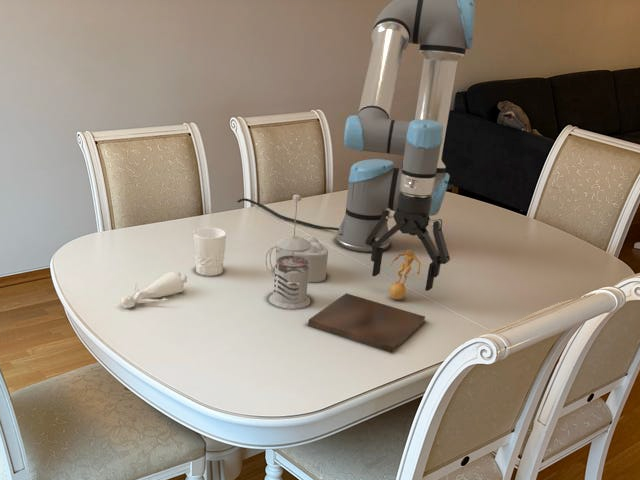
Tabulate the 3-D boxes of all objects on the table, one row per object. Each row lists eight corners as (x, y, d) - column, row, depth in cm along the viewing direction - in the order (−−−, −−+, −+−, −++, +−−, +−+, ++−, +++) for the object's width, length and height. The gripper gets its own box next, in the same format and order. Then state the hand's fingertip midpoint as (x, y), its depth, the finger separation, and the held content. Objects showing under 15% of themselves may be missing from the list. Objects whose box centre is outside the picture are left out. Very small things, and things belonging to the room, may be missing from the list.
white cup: (230, 269, 178) (231, 231, 173) (215, 279, 172) (215, 240, 167) (203, 262, 181) (203, 225, 176) (187, 272, 174) (187, 234, 169)
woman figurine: (199, 276, 161) (137, 303, 149) (200, 294, 163) (139, 322, 151) (166, 262, 167) (103, 286, 155) (167, 279, 169) (106, 304, 158)
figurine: (378, 294, 170) (384, 247, 164) (394, 289, 174) (401, 243, 168) (404, 306, 165) (412, 258, 159) (420, 300, 168) (428, 253, 163)
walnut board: (308, 325, 153) (308, 319, 152) (345, 298, 167) (346, 293, 166) (392, 352, 144) (393, 346, 144) (424, 322, 158) (425, 316, 157)
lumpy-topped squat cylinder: (294, 261, 186) (296, 229, 181) (334, 274, 179) (338, 242, 175) (269, 271, 178) (271, 239, 174) (311, 286, 172) (314, 253, 167)
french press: (296, 312, 158) (305, 204, 146) (254, 298, 163) (258, 193, 151) (318, 298, 166) (327, 194, 153) (276, 285, 171) (283, 184, 158)
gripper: (358, 185, 159) (348, 273, 169) (463, 208, 148) (446, 300, 159) (372, 179, 165) (361, 264, 175) (474, 201, 154) (457, 290, 164)
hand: (401, 281), depth 167 cm, fingers open, 13 cm apart
